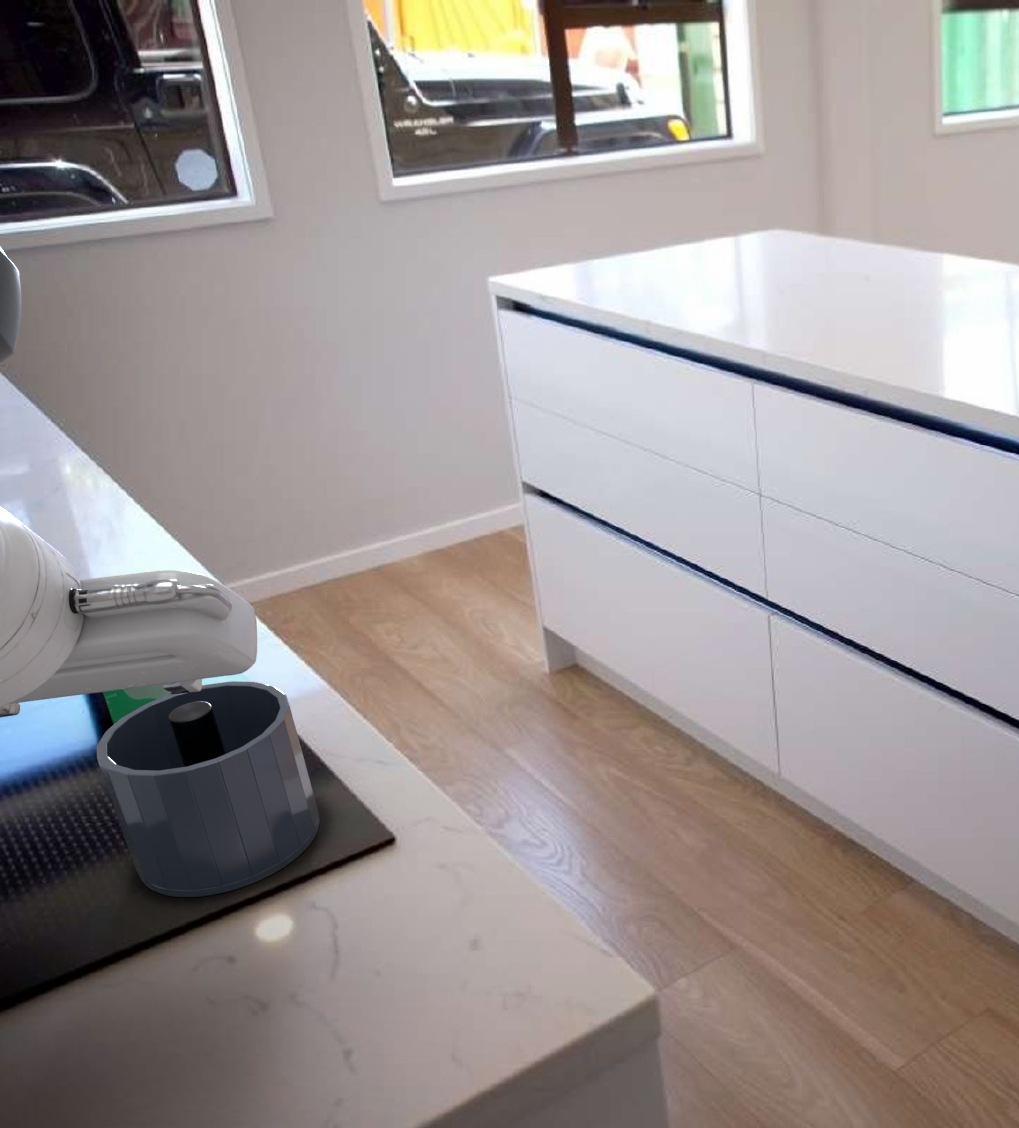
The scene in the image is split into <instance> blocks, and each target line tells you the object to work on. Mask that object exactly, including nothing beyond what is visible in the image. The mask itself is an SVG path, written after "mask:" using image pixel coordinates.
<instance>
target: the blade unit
mask: <svg viewBox="0 0 1019 1128" xmlns="http://www.w3.org/2000/svg"><path fill="white" fill-rule="evenodd" d="M169 721H170V724H171V727H172V730H173V733H174V736H175V740H176V743H177V746H178V749H179V752H180V755H181V758H182V762H183V765H184V767H187V766H191V765H194V764H198V763H201V762H205V761H208V760H212V759H215V758H218V757H220V756H222V755H225V754H226V752H225V749H224V745H223V742H222V739H221V735H220V732H219V729H218V725H217V722H216V719H215V715H214V712H213V709H212V706H211V704H210V703H208V702H202V701H199V702H192V703H187V704H184V705H182V706H180V707H178V708H176V709H174V710H173V711H172V712H171V713H170V715H169Z"/></svg>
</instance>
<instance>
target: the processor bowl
mask: <svg viewBox="0 0 1019 1128" xmlns="http://www.w3.org/2000/svg"><path fill="white" fill-rule="evenodd" d="M199 701H202V702H208V703H210V704H211V706H212V709H213V712H214V715H215V719H216V722H217V725H218V729H219V732H220V735H221V739H222V742H223V745H224V749H225V752H226V754H225V755H222V756H220V757H218V758H215V759H212V760H208V761H205V762H201V763H198V764H194V765H191V766H187V767H184V765H183V762H182V758H181V755H180V752H179V749H178V746H177V743H176V740H175V736H174V733H173V730H172V727H171V724H170V721H169V715H170V713H171V712H172V711H173V710H174V709H176V708H178V707H180V706H182V705H184V704H187V703H192V702H199ZM290 705H291V704H290V703H289V699H288V696H287V695H286V693H284V692H283V691H281V689H278V688H277V687H275V686H273V685H270V684H266V683H262V682H257V681H239V680H238V681H237V680H236V681H235V680H234V681H233V680H232V681H231V680H230V681H224V682H216V683H209V684H202V688H201V691H198V692H189V693H180V694H170V695H167V696H165V697H162V698H160V699H157V700H155V701H152V702H149V703H148V704H145V705H143V706H142V707H140V708H138V709H136V710H135V711H133V712H131V713H129V714H127V715H126V716H124V717H123V718H121V719H120V720H119V721H118V722H117V723H115V724H114V723H113V725H112V726H110V728H108V729H107V730H106V731H105V732H104V734H103V735H102V737H101V739H100V740H99V742H98V743H97V745H96V760H97V763H98V766H99V769H100V771H101V774H102V778H103V780H104V783H105V785H106V789H107V792H108V794H109V797H110V800H111V803H112V806H113V809H114V812H115V814H116V817H117V820H118V822H119V826H120V828H121V830H122V831H121V832H122V834H123V838H124V840H125V843H126V846H127V848H128V851H129V855H130V858H131V860H132V863H133V866H134V869H135V872H137V874H138V877H139V878H140V881H141V882H142V883H143V885H144V886H145V887H147V888H148V889H149V890H151V891H153V892H155V893H158V894H160V895H164V896H168V897H174V898H201V897H202V898H203V897H208V896H209V897H210V896H214V895H219V894H223V893H224V894H225V893H228V892H231V891H235V890H239V889H241V888H244V887H247V886H250V885H252V884H255V883H257V882H260V881H263V880H264V879H266V878H268V877H270V876H272V875H274V874H275V873H277V872H279V871H281V870H282V869H284V868H286V867H287V866H289V864H291V863H292V862H294V861H295V860H296V859H298V858H299V857H300V856H301V855H302V854H303V853H304V852H305V851H306V850H307V849H308V848H309V847H310V845H311V844H312V843H313V842H314V840H315V838H316V836H317V834H318V831H319V829H320V822H321V819H320V814H319V809H318V805H317V802H316V798H315V794H314V790H313V786H312V784H311V779H310V776H309V772H308V769H307V764H306V761H305V758H304V757H305V756H304V755H303V750H302V747H301V743H300V740H299V736H298V735H299V734H298V731H297V727H296V724H295V721H294V717H293V713H292V710H291V706H290Z"/></svg>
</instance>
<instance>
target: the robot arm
mask: <svg viewBox="0 0 1019 1128" xmlns="http://www.w3.org/2000/svg"><path fill="white" fill-rule="evenodd" d="M20 277H21V276H20V271H19V269H18V267H17V266H16V265H15V263H14V262H13V261H12V260H11V259H10V258H9V257H8V256H7V255H6V253H5V252H4V250H3V249H2V247H1V246H0V364H2V363H3V362H5V361H6V360H8V359H9V358H11V357H12V356H13V355H14V354H15V350H16V347H17V343H18V339H19V333H20V328H21V319H22V318H21V317H22V287H21V286H22V285H21V278H20ZM257 622H258V621H257V616H256V611H255V609H254V607H253V606H252V605H251V604H250V603H249V602H248V601H247V600H246V599H245V598H243V597H242V596H240V595H239V594H238V593H236V592H235V591H234V590H231V589H230V588H229V587H227V586H225V585H224V584H222V583H220V582H218V581H217V580H215V579H214V578H211V577H210V576H207V575H205V574H202V573H198V572H195V571H190V570H182V569H181V570H180V569H179V570H178V569H172V570H171V569H167V570H153V571H143V572H135V573H128V574H118V575H109V576H101V577H94V578H83V579H80V577H79V576H78V574H77V571H76V570H75V569H74V567H73V565H72V564H71V563H70V562H69V560H68V558H66V557H65V556H64V555H63V554H62V553H61V552H59V551H58V550H57V549H56V548H54V547H53V546H52V545H51V544H50V543H49V542H48V541H46V540H44V539H43V538H42V537H41V536H39V535H38V534H37V533H35V532H34V531H33V530H32V529H30V528H29V527H28V526H26V525H25V524H24V523H23V522H22V521H20V520H19V519H18V518H16V517H15V516H14V515H12V513H10V512H9V511H7V510H6V509H4V508H3V507H1V506H0V718H7V717H13V716H14V717H15V716H18V715H19V714H20V712H21V704H20V703H27V702H35V701H42V700H50V699H59V698H66V697H67V698H68V697H73V696H81V695H82V696H83V695H89V694H96V693H103V692H105V691H113V690H121V689H128V688H136V687H144V686H151V685H159V684H163V689H165V690H166V691H170V693H171V694H180V693H189V692H198V691H201V688H202V685H203V680H205V679H211V678H212V679H213V678H220V677H227V676H228V677H229V676H236V675H240V674H244V673H245V672H247V671H248V670H250V669H251V668H252V667H253V666H254V665H255V664H256V662H257V657H258V624H257Z"/></svg>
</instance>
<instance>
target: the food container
mask: <svg viewBox="0 0 1019 1128" xmlns="http://www.w3.org/2000/svg"><path fill="white" fill-rule="evenodd" d="M102 694H103V697H104V699H105V702H106V705H107V708H108V711H109V715H110V718H111V720H112V723H113V725H114V724H115V723H117V722H118V721H119V720H120V719H121V718H123V717H124V716H126V715H127V714H129V713H131V712H133V711H135V710H136V709H138V708H140V707H142V706H143V705H145V704H148V703H149V702H152V701H155V700H157V699H160V698H162V697H165V696H167V695H170V694H171V693H170V691H166V690H165V689H163V684H159V685H151V686H144V687H136V688H128V689H121V690H113V691H105V692H102Z"/></svg>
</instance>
